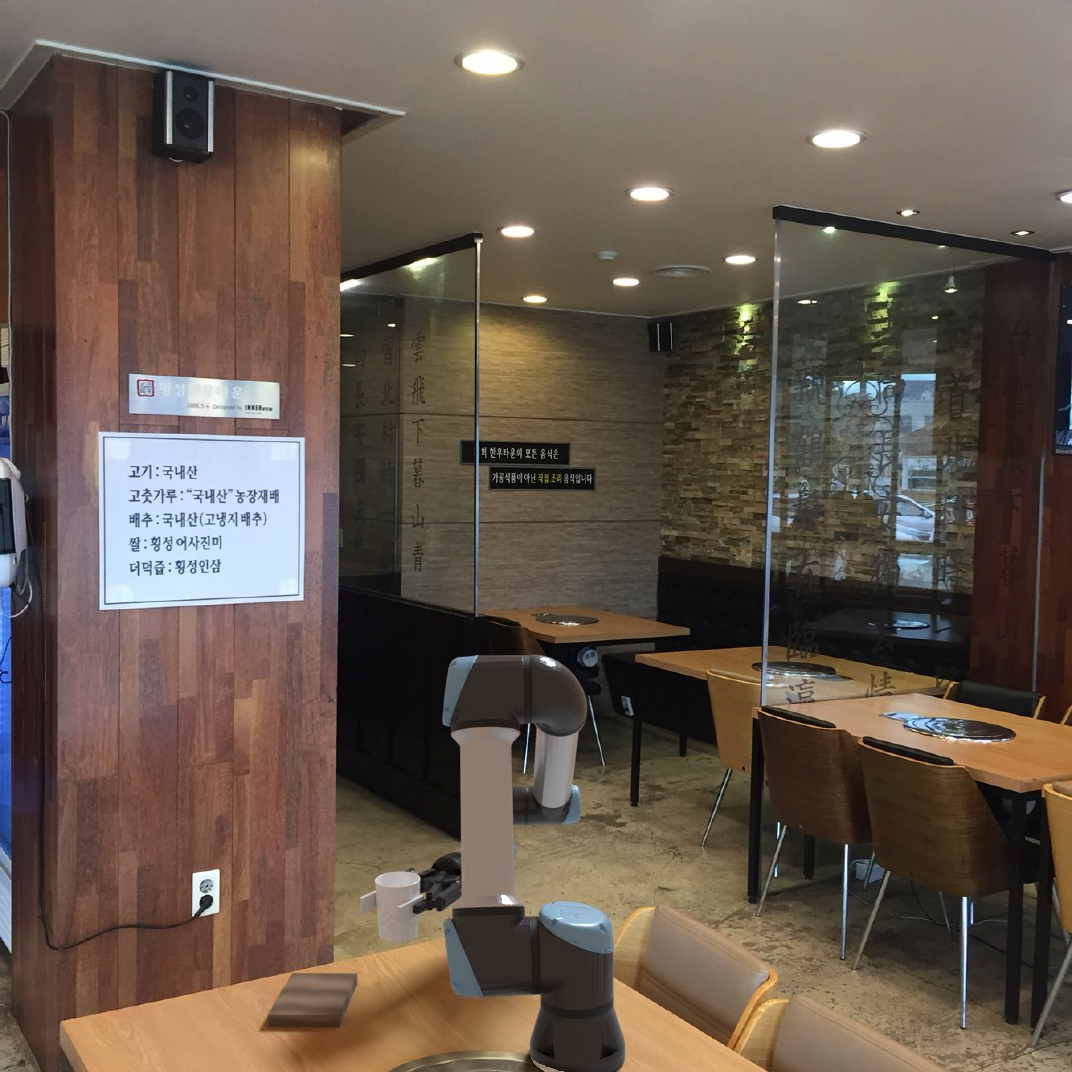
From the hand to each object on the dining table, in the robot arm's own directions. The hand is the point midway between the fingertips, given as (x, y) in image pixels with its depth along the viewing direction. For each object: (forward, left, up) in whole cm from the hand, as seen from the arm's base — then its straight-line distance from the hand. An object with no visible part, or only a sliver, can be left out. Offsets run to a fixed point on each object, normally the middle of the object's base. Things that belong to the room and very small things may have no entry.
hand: (380, 910), depth 188 cm
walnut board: (+3, +12, -18) cm, 22 cm away
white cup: (+4, -2, -6) cm, 8 cm away
